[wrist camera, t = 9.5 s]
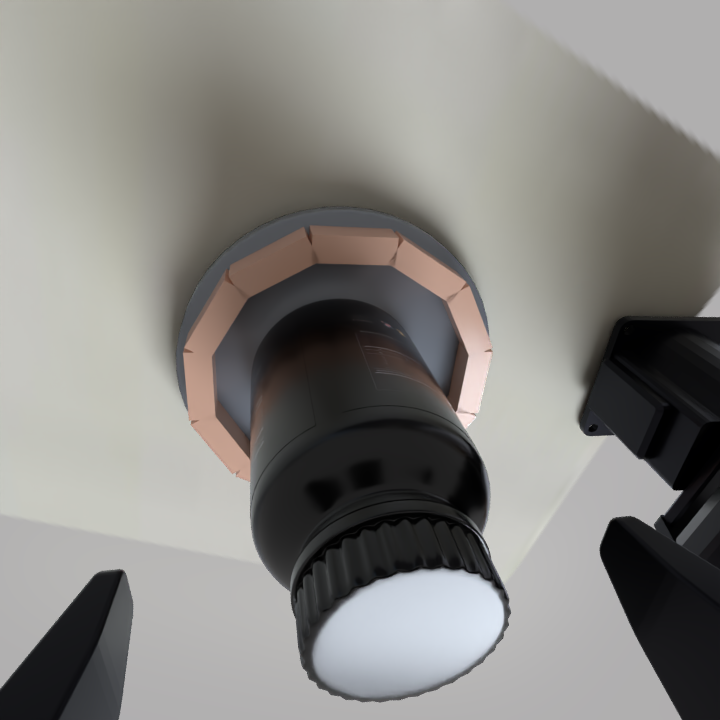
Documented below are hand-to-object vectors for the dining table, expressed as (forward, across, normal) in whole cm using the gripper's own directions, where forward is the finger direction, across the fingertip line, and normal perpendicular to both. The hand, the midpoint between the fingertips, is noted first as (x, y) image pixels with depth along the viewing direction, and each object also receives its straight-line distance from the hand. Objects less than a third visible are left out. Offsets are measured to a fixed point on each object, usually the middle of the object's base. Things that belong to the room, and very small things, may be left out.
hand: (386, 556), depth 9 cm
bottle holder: (+13, -1, +3) cm, 14 cm away
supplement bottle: (+12, -1, +3) cm, 13 cm away
